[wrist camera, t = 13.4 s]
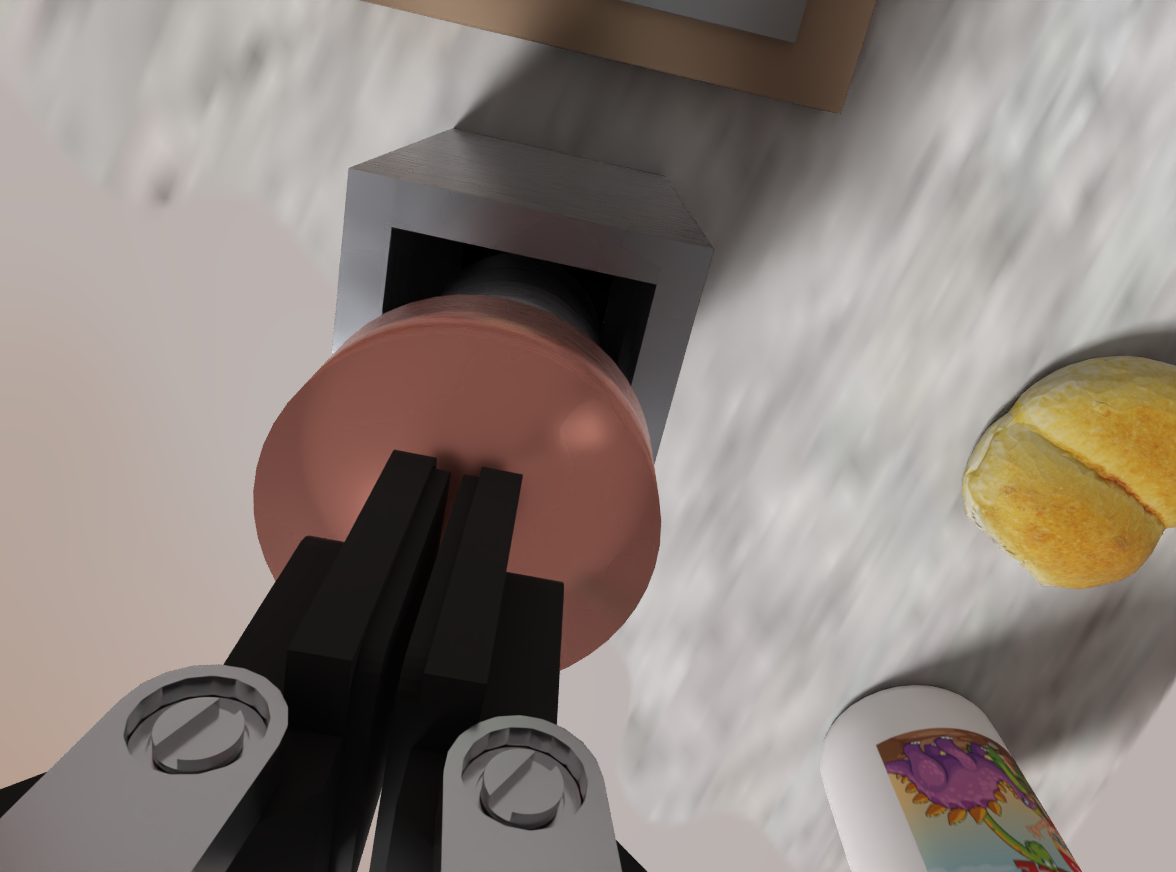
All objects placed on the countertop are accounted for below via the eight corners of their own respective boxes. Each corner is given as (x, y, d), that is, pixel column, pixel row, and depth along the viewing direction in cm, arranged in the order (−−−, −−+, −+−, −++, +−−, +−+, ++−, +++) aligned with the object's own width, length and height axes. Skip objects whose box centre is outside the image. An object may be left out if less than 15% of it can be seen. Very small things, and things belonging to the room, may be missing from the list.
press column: (665, 176, 27) (713, 249, 16) (616, 374, 29) (629, 553, 18) (452, 128, 26) (348, 167, 15) (424, 334, 29) (318, 494, 18)
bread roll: (1244, 436, 30) (1333, 486, 27) (1047, 588, 33) (1103, 651, 30) (1114, 295, 28) (1191, 328, 25) (914, 470, 31) (957, 523, 27)
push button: (658, 246, 19) (709, 384, 10) (604, 462, 21) (611, 716, 13) (414, 192, 18) (264, 292, 10) (386, 419, 20) (244, 653, 12)
